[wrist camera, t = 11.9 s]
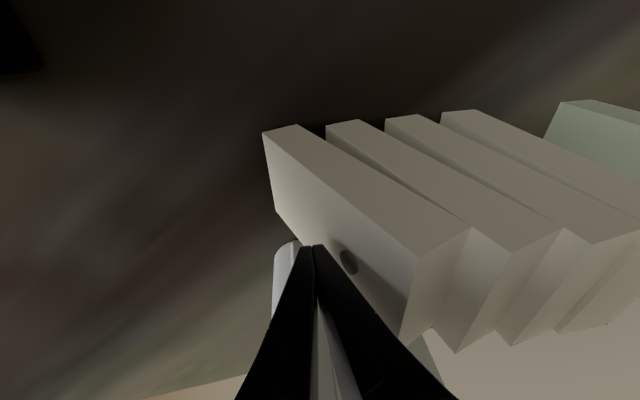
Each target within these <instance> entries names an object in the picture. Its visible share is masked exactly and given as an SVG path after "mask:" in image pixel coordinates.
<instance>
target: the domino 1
mask: <svg viewBox="0 0 640 400" xmlns="http://www.w3.org/2000/svg"><path fill="white" fill-rule="evenodd" d="M262 137H263V143H264V148H265V154H266V159H267V165H268V171H269V176H270V182H271V188H272V193H273V199H274V204H275V210H276V212H277V213H278V214H279V215H280V217H281V218H282V219H283V220H284V222H285V223H286V224H287V225H288V227H289V228H290V229H291V230H292V232H293V233H294V234H295V235H296V237H297V238H298V239H299V241H300V242H301V243H302V244H303V246H308V245H310V246H311V247H312V245H316V244H323V245H324V246H325V247H326V249H327V250H328V251H329V253H330V254H331V255H332V256H333V258H334V259H335V260H336V262H337V263H338V264H339V265H340V267H341V268H342V269H343V270H344V272H345V273H346V274H347V276H348V277H349V278H350V279H351V281H352V282H353V283H354V285H355V286H356V287H357V288H358V290H359V291H360V292H361V293H362V295H363V296H364V297H365V299H366V300H367V301H368V302H369V304H370V305H371V306H372V308H373V309H374V310H375V313H377V314H378V315H379V316H380V318H381V319H382V320H383V321H384V323H385V324H386V325H387V326H388V327H389V329H390V330H391V331H392V332H393V334H394V335H395V336H396V337H397V338H398V339H399V340H400V341H401V342H402V343H403V344H404V346H405V347H406V346H408V345H409V344H410V343H411V342H413V341H414V340H415V339H416V338H418V337H419V336H420V335H421V334H423V333H424V332H425V331H426V330H428V329H429V328H430V327H432V324H433V322H434V319H435V317H436V314H437V312H438V309H439V307H440V304H441V302H442V299H443V297H444V294H445V292H446V289H447V287H448V284H449V282H450V279H451V277H452V274H453V272H454V269H455V267H456V264H457V262H458V259H459V257H460V254H461V252H462V249H463V247H464V244H465V242H466V239H467V237H468V234H469V232H470V229H471V227H472V226H471V225H469V224H467V223H466V222H464V221H462V220H461V219H459V218H457V217H455V216H454V215H452V214H450V213H448V212H447V211H445V210H443V209H442V208H440V207H438V206H436V205H435V204H433V203H431V202H430V201H428V200H426V199H424V198H423V197H421V196H419V195H418V194H416V193H414V192H412V191H411V190H409V189H407V188H406V187H404V186H402V185H400V184H399V183H397V182H395V181H394V180H392V179H390V178H388V177H387V176H385V175H383V174H382V173H380V172H378V171H376V170H375V169H373V168H371V167H370V166H368V165H366V164H364V163H363V162H361V161H359V160H358V159H356V158H354V157H352V156H351V155H349V154H347V153H346V152H344V151H342V150H340V149H339V148H337V147H335V146H334V145H332V144H330V143H328V142H327V141H325V140H323V139H322V138H320V137H318V136H316V135H315V134H313V133H311V132H309V131H308V130H306V129H304V128H303V127H301V126H299V125H297V124H295V125H291V126H287V127H283V128H278V129H274V130H270V131H266V132H262Z"/></svg>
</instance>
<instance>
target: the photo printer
mask: <svg viewBox="0 0 640 400" xmlns="http://www.w3.org/2000/svg"><path fill="white" fill-rule="evenodd" d="M301 246H303V244H302V243H301V242H300V241H299V240H293V241H292V242H288V243H286V244H285V245H283V246H282V247H281V248H280V249H279V250H278V251H277V253H276V255H275V258H274V276H273V295H272V317H273V315H274V312H275V309H276V307H277V304H278V302H279V299H280V297H281V294H282V292H283V289H284V287H285V284H286V281H287V279H288V276H289V274H290V271H291V269H292V266H293V264H294V261H295V258H296V256H297V253H298V251H299V248H300V247H301ZM317 300H318V299H317ZM406 348H407V349H408V350H409V351H410V352H411V353H412V354H413V355H414V356H415V357H416V358H417V359H418V360H419V361H420V362H421V363H422V364H423V365H424V366H425V367H426V368H427V369H428V370H429V371H430V372H431V373H432V374H433V375H434V376H435V378H436V379H437V380H438V381H439V382H440V383H441V384H442V385H443V386H444V383H443V381H442V379H441V377H440V374H439V372H438V370H437V367H436V365H435V363H434V361H433V359H432V356H431V354H430V352H429V350H428V347H427V345H426V343H425V340H424V338H423V336H422V334H421V335H420V336H419V337H418V338H416V339H415V340H414V341H413V342H411V343H410V344H409V345H408V346H406ZM444 387H445V386H444ZM318 400H342V397H341V393H340V389H339V385H338V381H337V377H336V373H335V369H334V365H333V361H332V357H331V353H330V349H329V345H328V341H327V337H326V333H325V329H324V325H323V321H322V317H321V313H320V309H319V305H318Z"/></svg>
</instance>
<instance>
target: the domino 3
mask: <svg viewBox="0 0 640 400" xmlns="http://www.w3.org/2000/svg"><path fill="white" fill-rule="evenodd" d="M384 133H386V134H388V135H390V136H392V137H394V138H396V139H397V140H399V141H401V142H403V143H405V144H407V145H409V146H411V147H413V148H415V149H416V150H418V151H420V152H422V153H424V154H426V155H428V156H430V157H432V158H433V159H435V160H437V161H439V162H441V163H443V164H445V165H447V166H449V167H451V168H452V169H454V170H456V171H458V172H460V173H462V174H464V175H466V176H468V177H470V178H471V179H473V180H475V181H477V182H479V183H481V184H483V185H485V186H487V187H489V188H490V189H492V190H494V191H496V192H498V193H500V194H502V195H504V196H506V197H508V198H509V199H511V200H513V201H515V202H517V203H519V204H521V205H523V206H525V207H527V208H528V209H530V210H532V211H534V212H536V213H538V214H540V215H542V216H544V217H545V218H547V219H549V220H551V221H553V222H555V223H557V224H559V225H561V226H563V227H564V228H563V230H562V231H561V233H560V234H559V236H558V237H557V238H556V240H555V241H554V243H553V244H552V246H551V247H550V249H549V250H548V252H547V253H546V255H545V256H544V258H543V259H542V261H541V262H540V264H539V265H538V266H537V268H536V269H535V271H534V272H533V274H532V275H531V277H530V278H529V280H528V281H527V283H526V284H525V286H524V287H523V289H522V290H521V292H520V293H519V294H518V296H517V297H516V299H515V300H514V302H513V303H512V305H511V306H510V308H509V309H508V311H507V312H506V314H505V315H504V317H503V318H502V320H501V321H500V322H499V324H498V325H497V327H496V328H495V330H496V331H497V332H498V333H499V334H500V335H501V336H502V338H503V339H504V340H505V341H506V342H507V343H508V344H509V346H513V345H515V344H518V343H521V342H523V341H525V340H528V339H530V338H533V337H535V336H538V335H540V334H543V333H545V332H548V331H550V330H553V329H554V328H555V327H556V326H557V325H558V324H559V323H560V322H561V321H562V320H563V319H564V318H565V317H566V316H567V315H568V313H569V312H570V311H571V310H572V309H573V308H574V307H575V306H576V305H577V304H578V303H579V302H580V301H581V300H582V298H583V297H584V296H585V295H586V294H587V293H588V292H589V291H590V290H591V289H592V288H593V287H594V286H595V285H596V283H597V282H598V281H599V280H600V279H601V278H602V277H603V276H604V275H605V274H606V273H607V272H608V271H609V270H610V268H611V267H612V266H613V265H614V264H615V263H616V262H617V261H618V260H619V259H620V258H621V257H622V256H623V255H624V253H625V252H626V251H627V250H628V249H629V248H630V247H631V246H632V245H633V244H634V243H635V242H636V241H637V240H638V238H639V237H640V221H639V220H637V219H635V218H632V217H630V216H628V215H626V214H624V213H622V212H620V211H618V210H616V209H614V208H612V207H610V206H608V205H606V204H603V203H601V202H599V201H597V200H595V199H593V198H591V197H589V196H587V195H585V194H583V193H581V192H579V191H576V190H574V189H572V188H570V187H568V186H566V185H564V184H562V183H560V182H558V181H556V180H554V179H552V178H550V177H547V176H545V175H543V174H541V173H539V172H537V171H535V170H533V169H531V168H529V167H527V166H525V165H523V164H520V163H518V162H516V161H514V160H512V159H510V158H508V157H506V156H504V155H502V154H500V153H498V152H496V151H494V150H491V149H489V148H487V147H485V146H483V145H481V144H479V143H477V142H475V141H473V140H471V139H469V138H467V137H464V136H462V135H460V134H458V133H456V132H454V131H452V130H450V129H448V128H446V127H444V126H442V125H440V124H438V123H435V122H433V121H431V120H429V119H427V118H425V117H423V116H421V115H419V114H415V115H408V116H401V117H394V118H387V119H386V120H385V129H384Z"/></svg>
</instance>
